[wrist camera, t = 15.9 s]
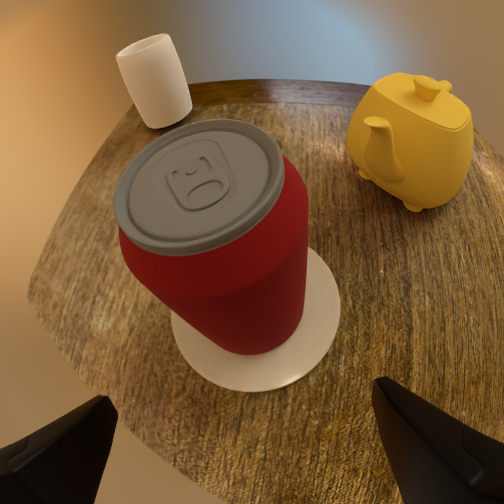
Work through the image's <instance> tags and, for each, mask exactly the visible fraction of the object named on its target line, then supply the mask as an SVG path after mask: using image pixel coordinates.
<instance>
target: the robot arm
mask: <svg viewBox="0 0 504 504" xmlns="http://www.w3.org/2000/svg"><path fill="white" fill-rule="evenodd" d="M371 399H372V405H373V409H374V413H375V417H376V421H377V425H378V429H379V433H380V437H381V441H382V444H383V447H384V450H385V452H386V455H387V458H388V460H389V463H390V466H391V468H392V471H393V474H394V477H395V479H396V482H397V485H398V488H399V491H400V494H401V497H402V500H403V502H404V504H504V443H502V442H500V441H497V440H495V439H493V438H490V437H488V436H486V435H484V434H482V433H480V432H478V431H476V430H475V429H473V428H471V427H469V426H468V425H466V424H464V425H463V423H462V422H461V421H459V420H457V419H455V418H454V417H452V416H450V415H449V414H447V413H445V412H444V411H442V410H440V409H439V408H437V407H436V406H434V405H432V404H431V403H429V402H427V401H426V400H424V399H422V398H421V397H419V396H418V395H416V394H414V393H413V392H411V391H410V390H408V389H406V388H405V387H403V386H402V385H400V384H398V383H397V382H395V381H394V380H392V379H390V378H389V377H387V376H383V377H380V378H376V379H374V381H373V388H372V397H371ZM117 420H118V413H117V410H116V409H115V407H114V405H113V403H112V402H111V400H110V398H109V397H107V396H102V395H98V396H96V397H94V398H92V399H91V400H89V401H88V402H86V403H84V404H82V405H81V406H79V407H77V408H76V409H74V410H72V411H71V412H69V413H67V414H66V415H64V416H62V417H60V418H58V419H57V420H55V421H53V422H52V423H50V424H48V425H46V426H45V427H43V428H41V429H39V430H37V431H35V432H34V433H32V434H30V435H28V436H26V437H24V438H23V439H21V440H19V441H17V442H15V443H13V444H10V445H8V446H6V447H4V448H1V449H0V504H94V502H95V498H96V495H97V491H98V488H99V485H100V481H101V478H102V475H103V471H104V469H105V466H106V463H107V460H108V457H109V453H110V450H111V446H112V441H113V437H114V433H115V428H116V424H117Z"/></svg>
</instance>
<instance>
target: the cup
mask: <svg viewBox="0 0 504 504" xmlns="http://www.w3.org/2000/svg"><path fill="white" fill-rule="evenodd" d="M116 59H117V63H118V66H119V69H120V72H121V75H122V77H123V80H124V82H125V85H126V87H127V89H128V91H129V94H130V96H131V98H132V100H133V102H134V104H135V106H136V108H137V109H138V111H139V113H140V115H141V117H142V119H143V120H144V122H145V124H146V125H147V126H148V127H150V128H162V127H166V126H169V125H172V124H174V123H176V122H178V121H180V120H182V119H183V118H184V117H185V116H187V115H188V114H189V112H190V111H191V109H192V102H191V98H190V94H189V90H188V86H187V83H186V79H185V76H184V72H183V69H182V66H181V63H180V60H179V58H178V55H177V52H176V50H175V47H174V45H173V43H172V41H171V38H170V36H169V35H167V34H159V35H155V36H151V37H148V38H145V39H143V40H140V41H138V42H136V43H134V44H132V45H130V46H128V47H126V48H125V49H123V50H122V51H120V52H119V53H118V54H117V55H116Z"/></svg>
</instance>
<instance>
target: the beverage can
mask: <svg viewBox="0 0 504 504" xmlns="http://www.w3.org/2000/svg"><path fill="white" fill-rule="evenodd" d="M113 207H114V215H115V218H116V220H117V223H118V225H119V239H120V246H121V251H122V254H123V257H124V260H125V262H126V264H127V266H128V268H129V269H130V271H131V272H132V273H133V275H134V276H135V277H136V278H137V279H138V280H139V281H140V282H141V283H142V284H143V285H144V286H145V287H146V288H148V289H149V290H150V291H151V292H152V293H153V294H154V295H155V296H156V297H158V298H159V299H160V300H161V301H162V302H163V303H164V304H165V305H167V306H168V307H169V308H170V309H171V310H172V311H174V312H175V313H176V314H177V315H178V316H180V317H181V318H182V319H183V320H185V321H186V322H187V323H188V324H189V325H191V326H192V327H193V328H195V329H196V330H197V331H199V332H200V333H201V334H202V335H204V336H205V337H207V338H208V339H209V340H211V341H212V342H214V343H215V344H216V345H218V346H219V347H221V348H223V349H224V350H227V351H229V352H232V353H235V354H240V355H257V354H262V353H266V352H269V351H271V350H273V349H275V348H277V347H279V346H280V345H282V344H283V343H284V342H286V341H287V340H288V339H289V338H290V337H291V336H292V334H293V333H294V332H295V330H296V329H297V327H298V325H299V323H300V321H301V318H302V315H303V310H304V301H305V291H306V276H307V256H308V196H307V191H306V188H305V185H304V182H303V180H302V178H301V176H300V175H299V173H298V171H297V170H296V168H295V167H294V166H293V165H292V164H291V162H290V161H289V160H288V159H287V158H286V157H285V156H284V155H283V154H282V153H281V150H280V147H279V146H278V144H277V142H276V141H275V140H274V138H273V137H272V136H271V135H270V134H269V133H267V132H266V131H265V130H263V129H261V128H260V127H258V126H256V125H253V124H251V123H248V122H244V121H240V120H234V119H210V120H204V121H198V122H194V123H190V124H187V125H184V126H181V127H179V128H176V129H174V130H172V131H170V132H168V133H166V134H164V135H162V136H160V137H159V138H157V139H156V140H154V141H153V142H151V143H150V144H148V145H147V146H146V147H145V148H144V149H142V150H141V151H140V152H139V153H138V154H137V155H136V156H135V157H134V158H133V159H132V161H131V162H130V163H129V164H128V166H127V167H126V168H125V170H124V172H123V173H122V175H121V177H120V179H119V181H118V184H117V186H116V189H115V193H114V201H113Z"/></svg>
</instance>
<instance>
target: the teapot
mask: <svg viewBox="0 0 504 504" xmlns="http://www.w3.org/2000/svg"><path fill="white" fill-rule="evenodd" d="M451 93H452V85H451V84H450V83H449V82H447V81H444V80H441V81H439V82H437V81H435V80H434V79H432V78H430V77H427V76H423V75H415V76H412V75H409V74H405V73H394V74H391V75H388V76H386V77H384V78H382V79H380V80H378V81H377V82H375V83H374V84H373V85H372V86H371V87H370V89H369V90H368V91H367V92H366V94H365V95H364V97H363V98H362V100H361V101H360V103H359V104H358V106H357V108H356V110H355V112H354V114H353V116H352V118H351V121H350V124H349V127H348V131H347V136H346V146H347V150H348V152H349V154H350V156H351V158H352V160H353V161H354V162H355V164H356V165H357V166H358V167H359V170H358V171H359V174H360V175H361V176H362V177H363V178H365V179H367V180H372V181H373V182H374V183H375V184H376V185H378V186H379V187H380V188H382V189H383V190H385V191H386V192H388V193H390V194H391V195H393V196H395V197H397V198H399V199H401V200H403V204H404V206H405V207H406V208H407V209H408V210H410V211H412V212H420V211H421V210H422V209H423V208H434V207H438V206H440V205H443V204H445V203H447V202H448V201H449V200H450V199H451V198H452V197H453V196H454V195H455V194H456V193H457V192H458V191H459V189H460V188H461V187H462V184H463V182H464V180H465V178H466V176H467V173H468V170H469V166H470V162H471V158H472V153H473V123H472V116H471V112H470V110H469V108H468V107H467V106H466V105H465V104H464V103H463V102H462V101H461V100H459V99H458V98H457V97H455V96H453V95H452V94H451Z"/></svg>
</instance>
